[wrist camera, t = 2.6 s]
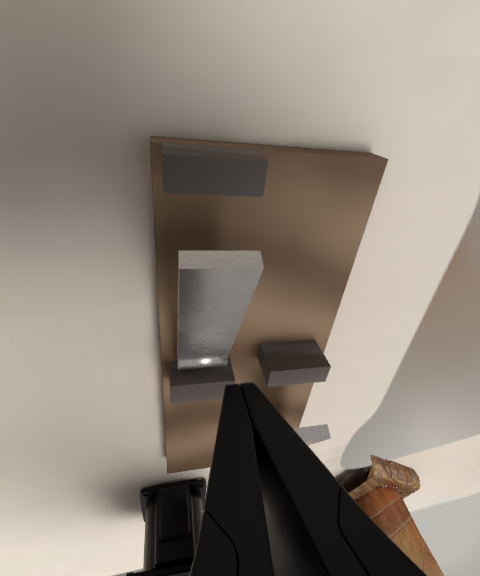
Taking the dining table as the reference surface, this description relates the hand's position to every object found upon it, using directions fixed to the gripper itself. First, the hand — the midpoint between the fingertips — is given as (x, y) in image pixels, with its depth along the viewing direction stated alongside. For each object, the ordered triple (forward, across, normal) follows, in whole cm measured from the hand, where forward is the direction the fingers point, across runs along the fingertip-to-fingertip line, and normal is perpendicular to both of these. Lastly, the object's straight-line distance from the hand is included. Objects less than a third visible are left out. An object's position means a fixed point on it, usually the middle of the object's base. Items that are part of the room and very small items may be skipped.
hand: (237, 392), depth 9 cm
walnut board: (+11, -3, +8) cm, 14 cm away
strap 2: (+7, 0, +2) cm, 7 cm away
